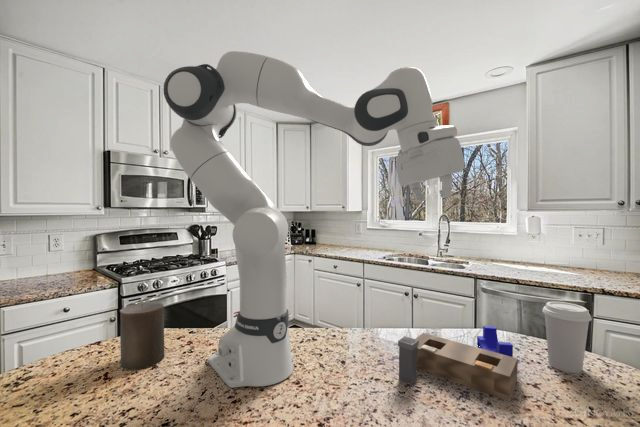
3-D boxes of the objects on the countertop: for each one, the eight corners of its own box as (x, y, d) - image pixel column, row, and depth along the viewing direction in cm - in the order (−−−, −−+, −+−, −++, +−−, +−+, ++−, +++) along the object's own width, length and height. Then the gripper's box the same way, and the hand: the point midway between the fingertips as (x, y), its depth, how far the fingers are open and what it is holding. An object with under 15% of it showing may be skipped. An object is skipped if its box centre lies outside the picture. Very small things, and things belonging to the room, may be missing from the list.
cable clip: (477, 346, 88) (477, 325, 88) (494, 347, 87) (494, 326, 87) (492, 367, 76) (492, 343, 76) (512, 369, 75) (512, 345, 75)
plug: (397, 379, 70) (398, 340, 70) (404, 373, 73) (404, 335, 72) (411, 385, 68) (412, 345, 68) (418, 379, 70) (418, 340, 70)
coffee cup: (533, 362, 78) (534, 303, 78) (553, 354, 83) (554, 298, 82) (578, 381, 70) (579, 315, 70) (598, 370, 74) (599, 309, 74)
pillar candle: (168, 362, 78) (168, 302, 78) (122, 374, 72) (122, 310, 71) (159, 348, 85) (159, 294, 85) (117, 359, 79) (117, 301, 79)
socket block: (406, 364, 77) (407, 343, 77) (422, 350, 84) (423, 331, 84) (509, 401, 62) (509, 375, 62) (517, 380, 70) (517, 357, 70)
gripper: (386, 153, 79) (397, 205, 80) (435, 128, 60) (451, 198, 60) (407, 149, 81) (418, 200, 81) (462, 124, 61) (477, 191, 62)
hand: (433, 199), depth 71 cm, fingers open, 8 cm apart
